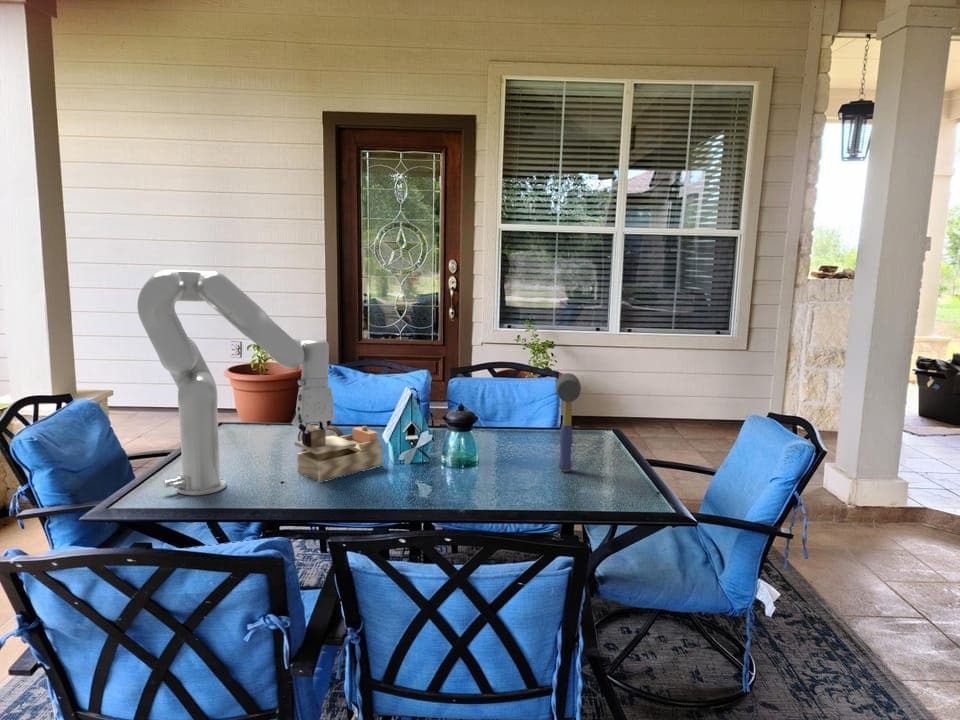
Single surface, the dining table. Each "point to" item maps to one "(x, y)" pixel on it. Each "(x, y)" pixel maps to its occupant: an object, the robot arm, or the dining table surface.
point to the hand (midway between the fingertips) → (313, 443)
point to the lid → (324, 442)
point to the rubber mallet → (567, 416)
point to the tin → (329, 432)
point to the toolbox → (340, 460)
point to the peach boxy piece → (364, 434)
